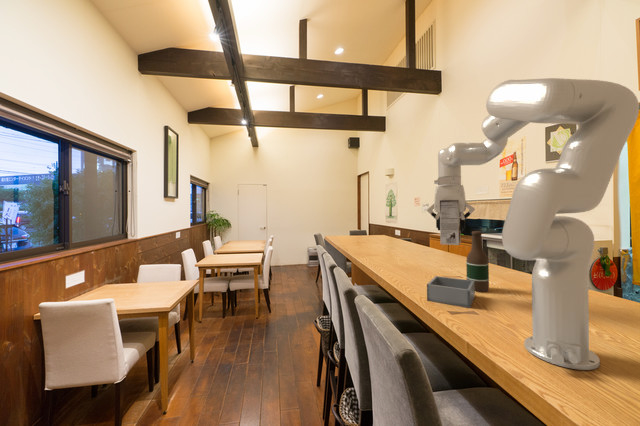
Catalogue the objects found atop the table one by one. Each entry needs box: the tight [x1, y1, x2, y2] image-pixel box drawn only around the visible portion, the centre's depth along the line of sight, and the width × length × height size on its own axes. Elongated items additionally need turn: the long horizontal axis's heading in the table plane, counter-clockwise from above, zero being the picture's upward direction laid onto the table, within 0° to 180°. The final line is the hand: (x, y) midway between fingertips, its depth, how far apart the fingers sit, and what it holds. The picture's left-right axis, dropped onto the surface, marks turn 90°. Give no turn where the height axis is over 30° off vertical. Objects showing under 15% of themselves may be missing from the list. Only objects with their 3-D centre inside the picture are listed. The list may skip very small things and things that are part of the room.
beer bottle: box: [465, 230, 490, 293], centre depth 107 cm, size 8×8×24 cm
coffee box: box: [439, 200, 462, 246], centre depth 97 cm, size 9×6×16 cm
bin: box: [426, 275, 476, 309], centre depth 98 cm, size 14×14×6 cm
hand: (450, 230), depth 97 cm, fingers closed on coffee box, 6 cm apart
